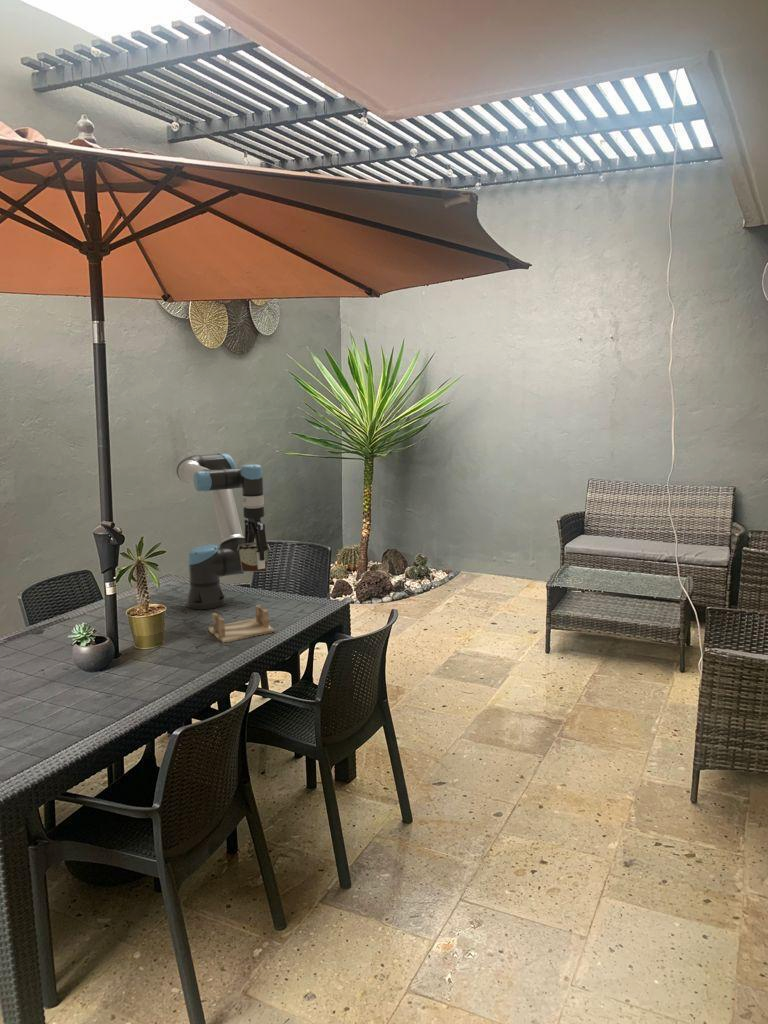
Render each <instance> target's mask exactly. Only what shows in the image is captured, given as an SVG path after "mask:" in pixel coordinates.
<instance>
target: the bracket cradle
mask: <svg viewBox="0 0 768 1024" xmlns="http://www.w3.org/2000/svg"><path fill="white" fill-rule="evenodd" d="M269 621H270V620H269V610H268V609H266V608H265V607H263V606H261V605H260V604H257V605H255V617H254V618H250V619H244V620H238V621H233V622H230V623H229V622H228V623H225V619H224V618H223V617H222V616H220V615H219V614H218V613H217V612H212V626H208V627H207V631H209V632H210V633H211V634H212V635H213V634H214V636H215V638H217V639H218V640H219V641H220V642H222V644H226V643H229V642H235V641H239V639H240V640H244V638H245V639H249V637H250V638H254V637H253V636H255V637H259V636H258V635H260V636H264V635H269V634H273V633H272V632H274V633H276V629H275V628H273V627H272V626H271V625H270V624H269V623H270V622H269ZM268 633H269V634H268ZM263 634H264V635H263ZM225 642H226V643H225Z"/></svg>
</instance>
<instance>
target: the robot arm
mask: <svg viewBox="0 0 768 1024" xmlns="http://www.w3.org/2000/svg"><path fill="white" fill-rule="evenodd" d="M263 475H264V474H263V468H262V465H260V464H256V463H255V464H253V463H251V464H244V465H242V466H238V467H236V463H235V461H234V459H233V457H232V456H231V455H229V454H228V453H215V454H212V453H211V454H198V455H197V454H196V455H195V454H194V455H190V456H186V457H185V458H183V459H182V460H181V461H179V463H178V464H177V467H176V476H177V477H178V479H179V480H180V481H181V482H183V483H186V484H193V487H194V488H195V490H196V492H209V491H211V496H212V500H213V501H212V502H213V506H214V511H215V514H216V519H217V523H218V524H217V525H218V527H219V532H220V537H221V542H220V543H219V547H218V545H217V544H214V543H210V544H204V545H203V544H202V545H199V546H196V547H194V548H192V549H190V551H189V552H188V553H187V554H188V556H187V559H188V561H187V564H188V575H189V589H188V590H189V591H188V594H187V598H186V607H187V608H189V609H192V610H210V609H215V608H219V607H221V606H223V605H225V604H226V595H225V593H224V591H223V588H222V585H221V579H220V578H221V577H227V576H228V577H229V576H235V575H236V576H237V575H244V574H248V573H249V572H242V568H241V561H240V554H239V550H238V551H237V549H238V545H240V544H244V543H254V542H256V544H257V549H258V550H257V551H256V552H257V564H258V569H264V568H265V551H267V544H268V543H267V536H266V524H265V523H262V521H261V518H264V517H265V508H264V505H265V498H264V485H263V484H264V480H263ZM233 489H234V490H235V489H242V498H241V502H242V506H243V518H245V519H244V520H243V522H244V534H243V531H242V526H241V522H240V519H239V518H240V517H239V514H238V510H237V504H236V500H235V496H234V493H233V492H234V491H233Z"/></svg>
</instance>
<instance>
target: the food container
mask: <svg viewBox="0 0 768 1024" xmlns="http://www.w3.org/2000/svg"><path fill="white" fill-rule="evenodd" d="M238 550H239V554H240V561H241V568H242V572H248V573H251V572H252V573H253V572H255V573H256V572H257V573H261V572H262V573H263V572H264V573H265V572H268V564H269V551H271V547H270V545H269V543H267V551H265V568H264V569H258V564H257V552H256V551H257V550H258V549H257V544H256V541H254V543H244V544H240V545H238V549H237V551H238Z"/></svg>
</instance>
